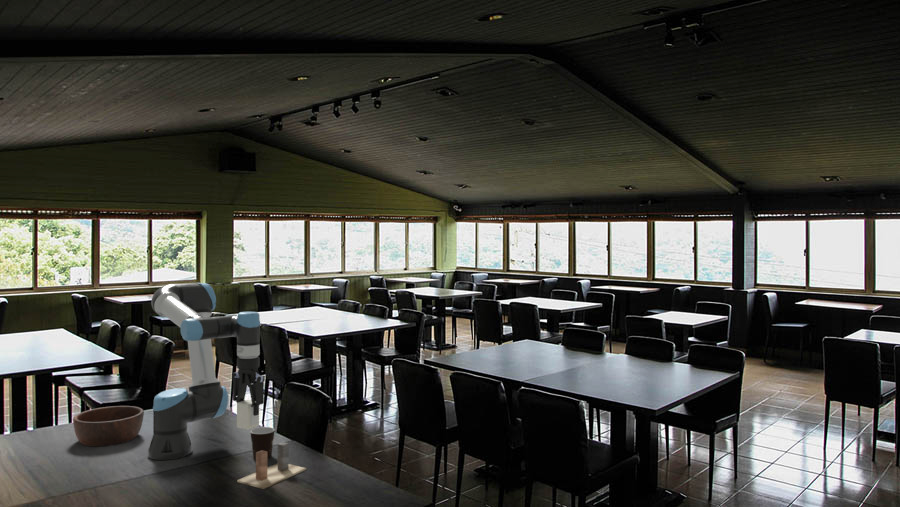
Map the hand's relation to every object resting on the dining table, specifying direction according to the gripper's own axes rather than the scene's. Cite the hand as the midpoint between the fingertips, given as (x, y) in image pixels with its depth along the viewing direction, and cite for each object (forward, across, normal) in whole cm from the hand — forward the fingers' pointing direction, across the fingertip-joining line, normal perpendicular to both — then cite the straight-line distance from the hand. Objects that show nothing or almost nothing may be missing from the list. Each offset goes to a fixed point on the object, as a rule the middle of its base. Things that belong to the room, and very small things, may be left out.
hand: (248, 422), depth 219 cm
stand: (+17, +11, +1) cm, 20 cm away
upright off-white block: (+1, 0, 0) cm, 1 cm away
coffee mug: (+17, -6, +14) cm, 23 cm away
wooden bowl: (+17, -74, -3) cm, 76 cm away
